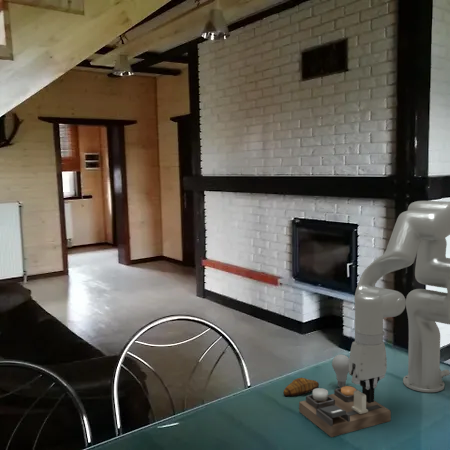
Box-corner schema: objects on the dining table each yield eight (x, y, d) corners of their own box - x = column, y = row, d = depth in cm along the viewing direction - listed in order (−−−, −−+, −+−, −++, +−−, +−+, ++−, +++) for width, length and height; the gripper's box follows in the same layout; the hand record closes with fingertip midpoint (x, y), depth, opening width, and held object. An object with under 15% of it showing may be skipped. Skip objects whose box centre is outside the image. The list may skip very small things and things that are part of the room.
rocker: (333, 408, 141) (332, 405, 141) (346, 414, 136) (345, 410, 136) (319, 412, 139) (319, 408, 139) (332, 418, 134) (332, 413, 134)
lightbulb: (351, 392, 160) (351, 358, 159) (332, 391, 161) (332, 358, 160) (350, 384, 166) (350, 352, 165) (332, 383, 167) (331, 351, 166)
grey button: (322, 392, 149) (322, 387, 149) (331, 398, 145) (331, 392, 145) (309, 395, 148) (309, 390, 147) (318, 401, 144) (318, 395, 143)
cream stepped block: (359, 406, 143) (359, 389, 143) (368, 411, 140) (368, 394, 140) (351, 408, 142) (351, 391, 142) (359, 414, 139) (360, 396, 138)
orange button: (349, 390, 153) (349, 385, 153) (359, 396, 149) (359, 390, 149) (337, 393, 152) (337, 387, 152) (346, 399, 148) (346, 393, 147)
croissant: (290, 401, 155) (290, 386, 155) (278, 393, 161) (278, 378, 161) (324, 391, 162) (324, 376, 161) (311, 384, 168) (311, 369, 167)
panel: (354, 398, 156) (354, 383, 156) (390, 420, 141) (390, 404, 141) (298, 411, 148) (298, 396, 148) (330, 437, 134) (330, 420, 133)
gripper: (380, 330, 147) (380, 390, 148) (338, 337, 141) (338, 400, 142) (399, 337, 140) (398, 400, 142) (355, 345, 134) (355, 411, 136)
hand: (368, 400), depth 142 cm, fingers closed
